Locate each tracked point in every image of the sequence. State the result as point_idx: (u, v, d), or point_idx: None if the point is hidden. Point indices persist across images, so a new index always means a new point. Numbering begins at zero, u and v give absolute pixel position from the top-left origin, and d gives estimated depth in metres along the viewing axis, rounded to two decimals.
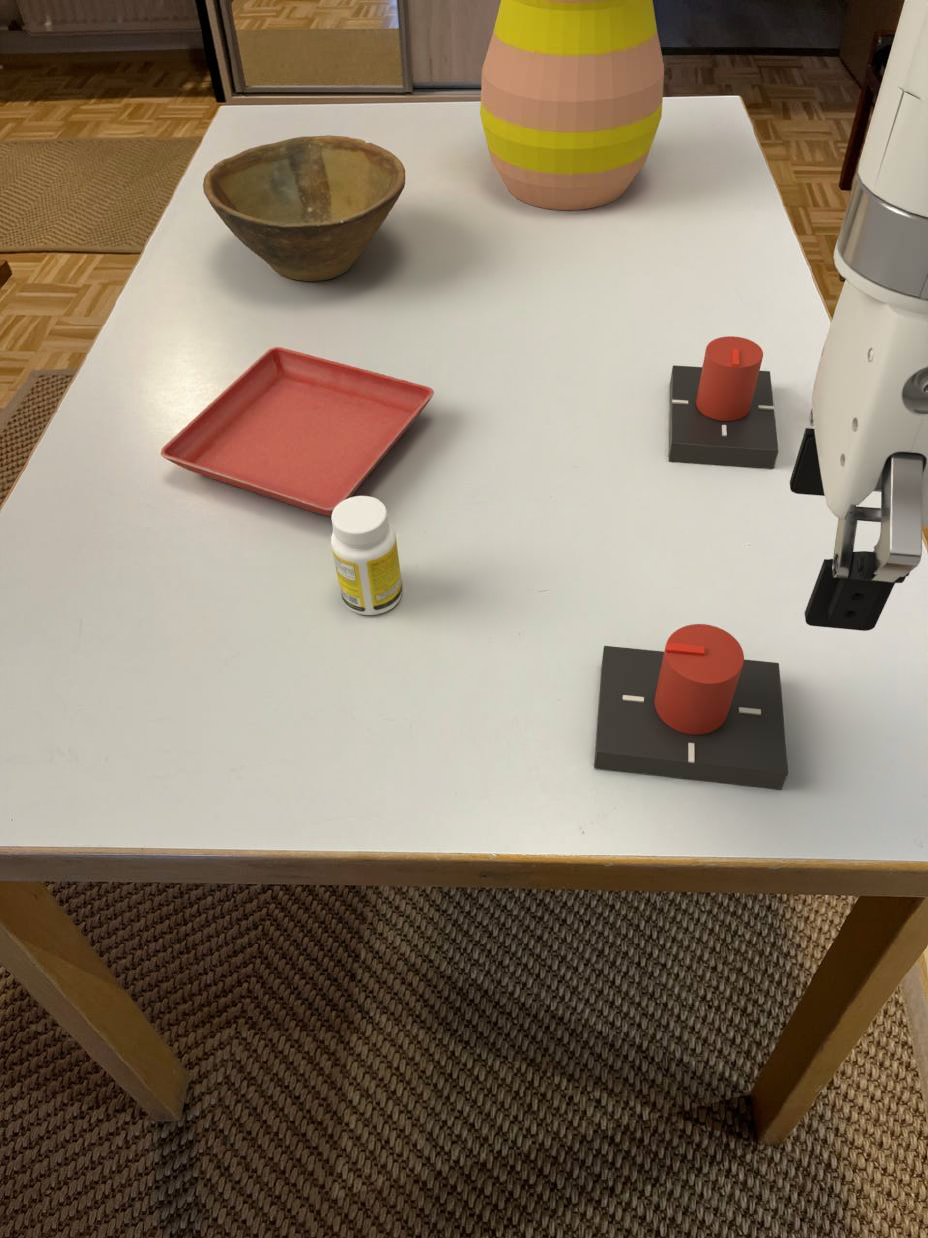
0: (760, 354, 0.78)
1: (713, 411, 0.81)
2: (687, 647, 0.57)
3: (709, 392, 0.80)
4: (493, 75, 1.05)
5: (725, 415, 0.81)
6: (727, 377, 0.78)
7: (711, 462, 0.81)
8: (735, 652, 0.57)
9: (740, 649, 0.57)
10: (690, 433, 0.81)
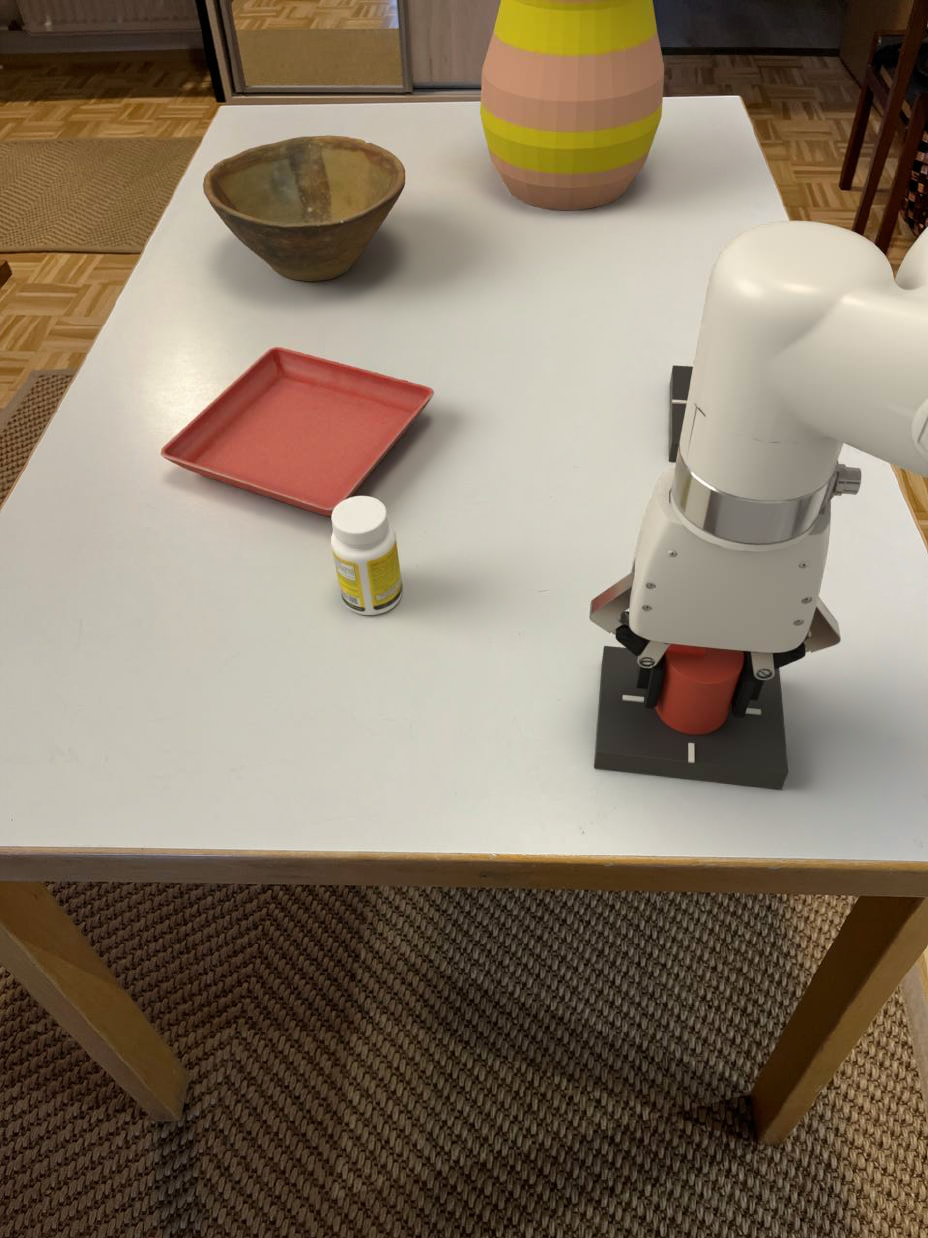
0: None
1: None
2: (687, 647, 0.57)
3: None
4: (493, 74, 1.05)
5: None
6: None
7: None
8: (735, 652, 0.57)
9: None
10: None
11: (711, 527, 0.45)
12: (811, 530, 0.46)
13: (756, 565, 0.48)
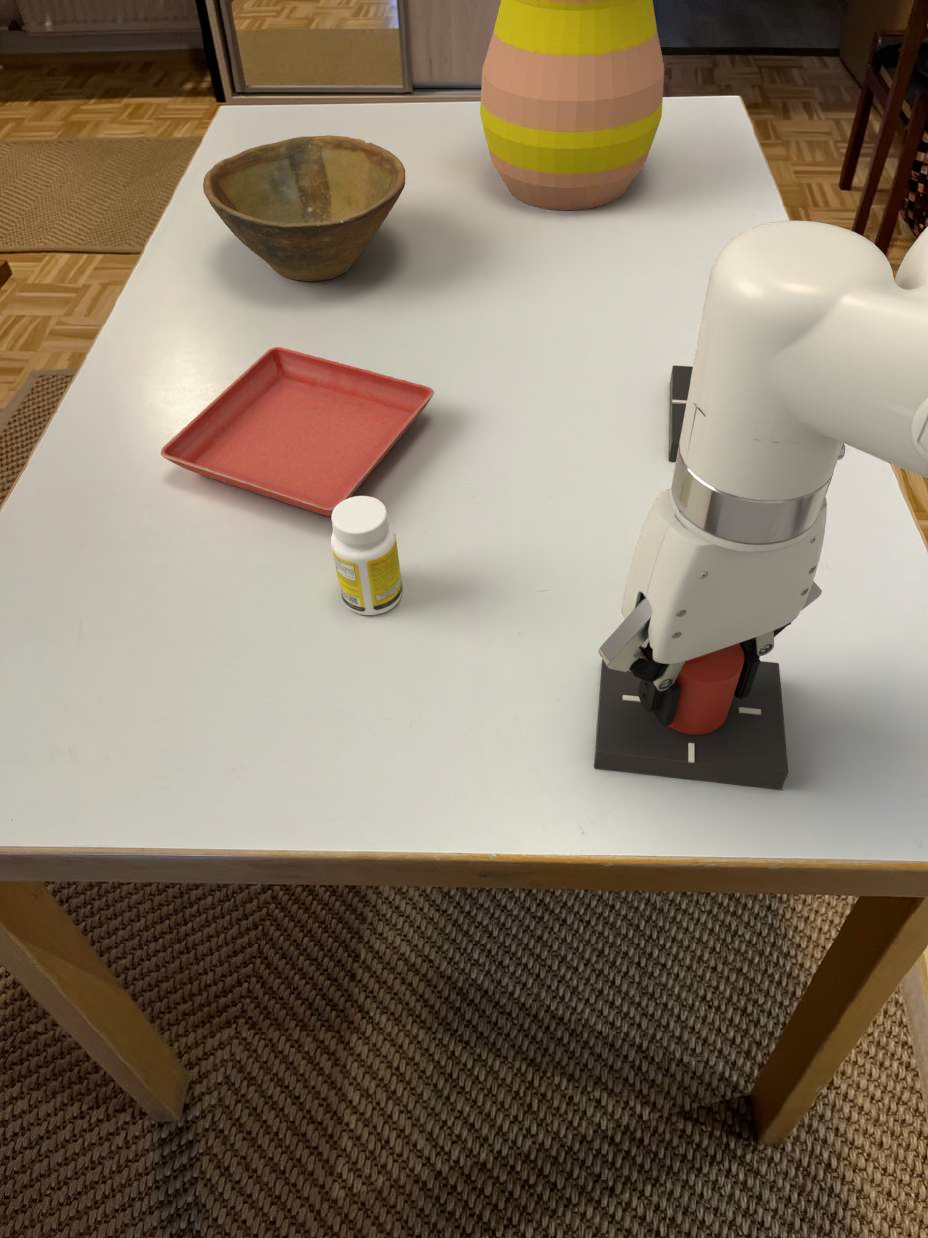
0: None
1: None
2: None
3: None
4: (493, 74, 1.05)
5: None
6: None
7: None
8: None
9: None
10: None
11: (751, 537, 0.45)
12: None
13: (777, 556, 0.48)
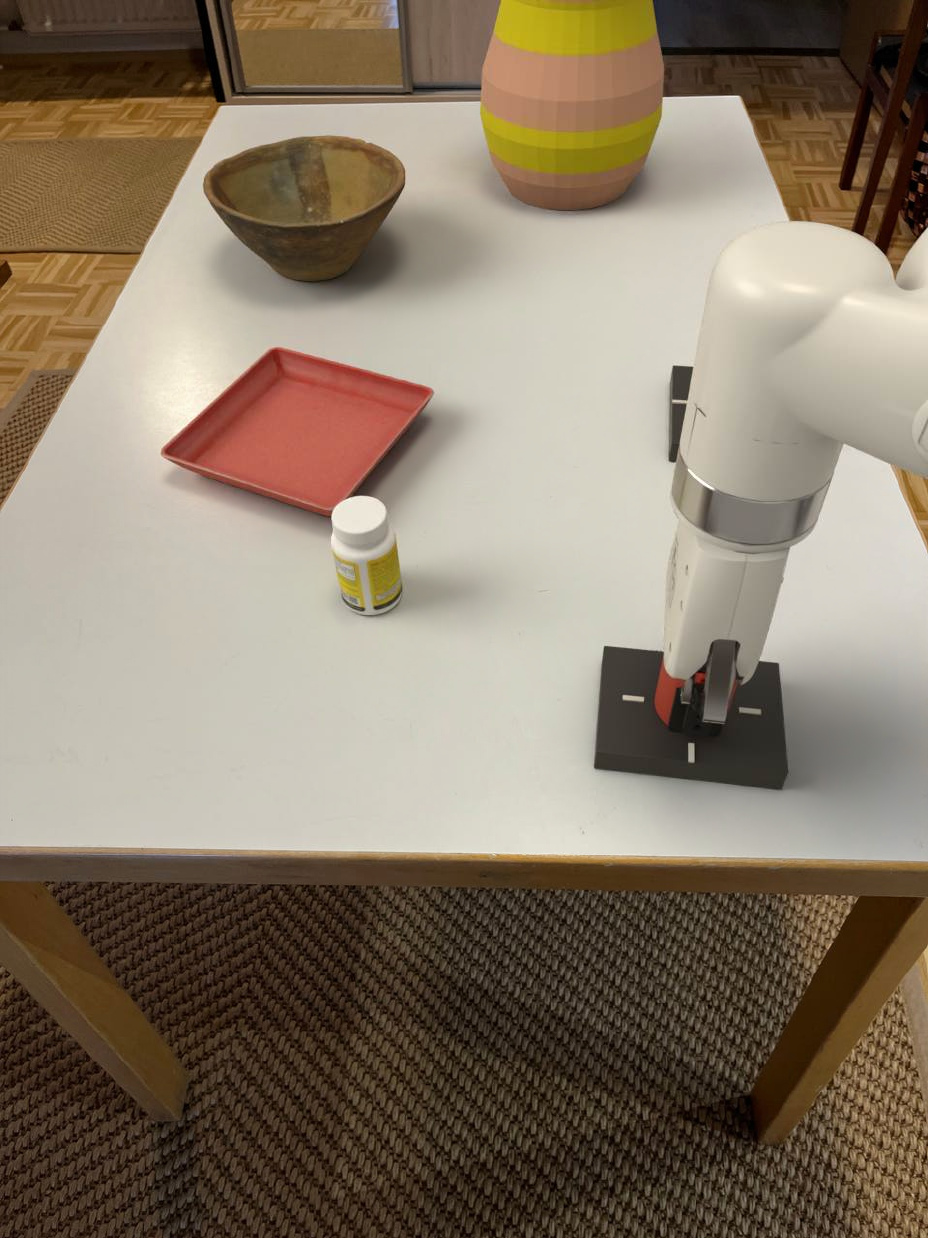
0: None
1: None
2: None
3: None
4: (493, 74, 1.05)
5: None
6: None
7: None
8: None
9: None
10: None
11: (815, 517, 0.46)
12: None
13: None
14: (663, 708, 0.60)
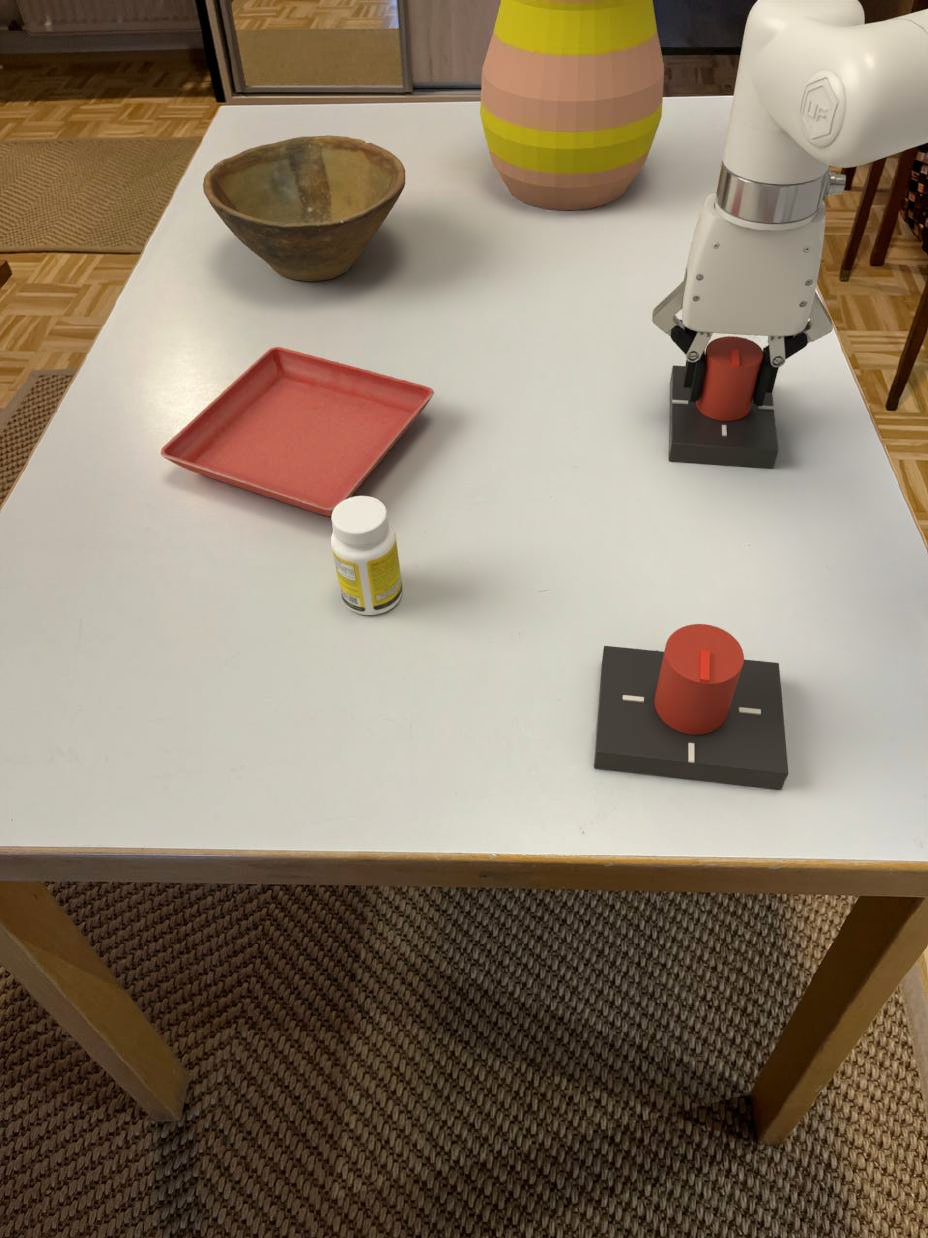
0: (760, 354, 0.78)
1: (713, 411, 0.81)
2: (704, 663, 0.56)
3: (709, 392, 0.80)
4: (493, 74, 1.05)
5: (725, 415, 0.81)
6: (727, 377, 0.78)
7: (711, 462, 0.81)
8: (700, 629, 0.58)
9: (696, 625, 0.59)
10: (690, 433, 0.81)
11: (744, 213, 0.67)
12: (812, 219, 0.68)
13: (774, 250, 0.69)
14: (663, 707, 0.60)
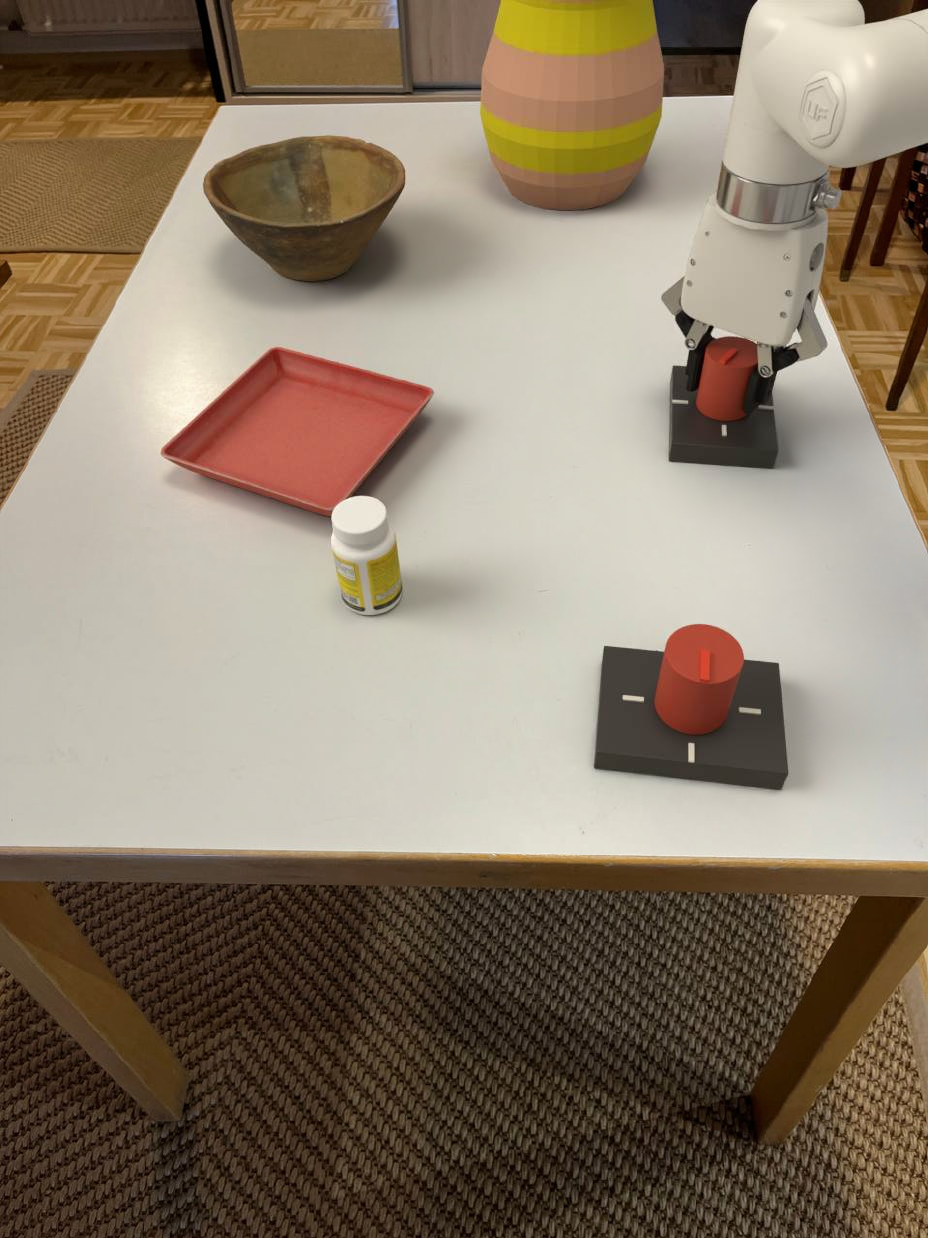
0: (756, 361, 0.78)
1: (702, 405, 0.82)
2: (704, 663, 0.56)
3: (701, 384, 0.81)
4: (493, 74, 1.05)
5: (711, 412, 0.81)
6: (714, 373, 0.79)
7: (711, 462, 0.81)
8: (700, 629, 0.58)
9: (696, 625, 0.59)
10: (690, 433, 0.81)
11: (724, 204, 0.68)
12: (794, 227, 0.67)
13: (755, 250, 0.70)
14: (663, 707, 0.60)
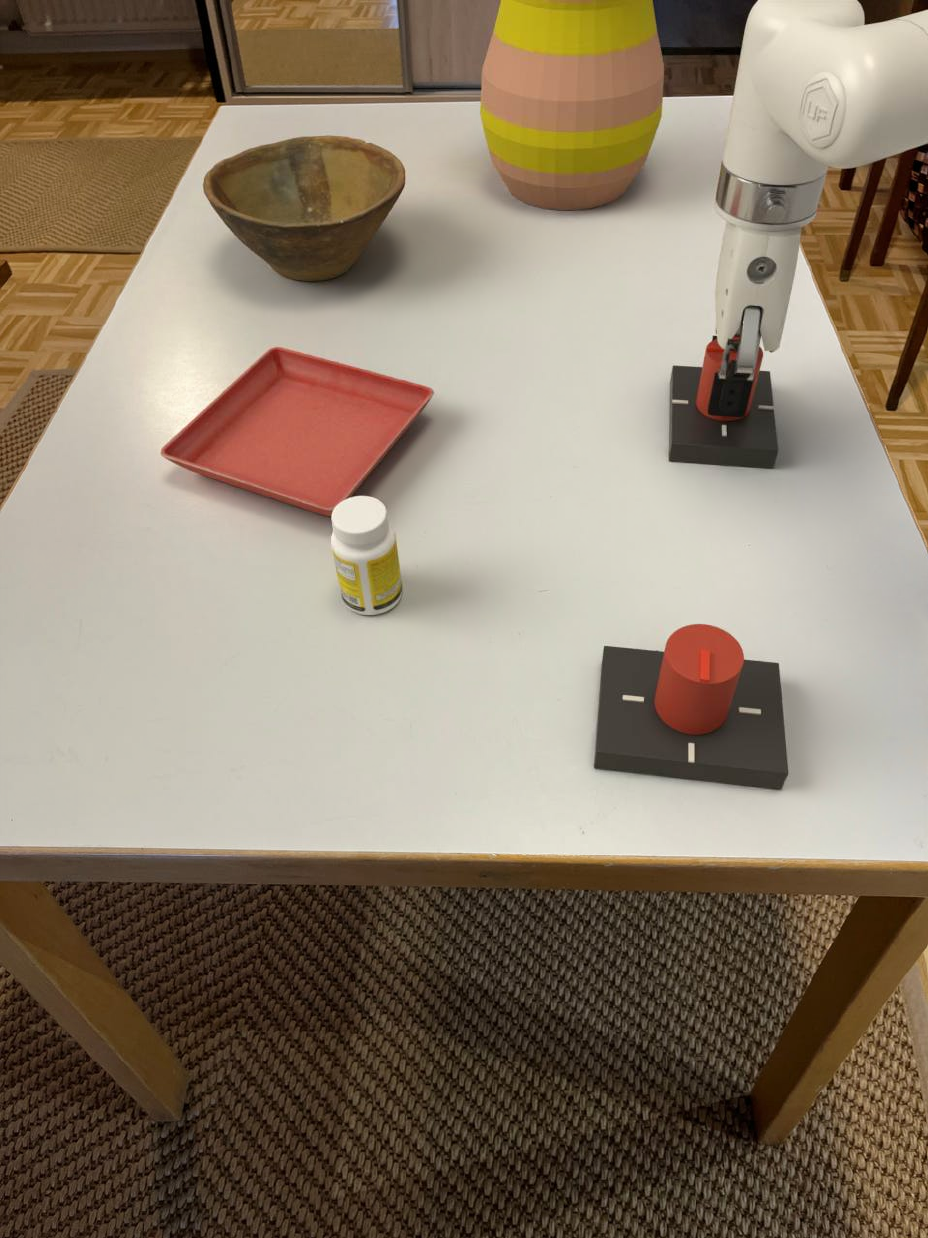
0: None
1: None
2: (704, 663, 0.56)
3: None
4: (493, 74, 1.05)
5: None
6: None
7: (711, 462, 0.81)
8: (700, 629, 0.58)
9: (696, 625, 0.59)
10: (690, 433, 0.81)
11: None
12: (741, 225, 0.68)
13: (726, 238, 0.71)
14: (663, 707, 0.60)
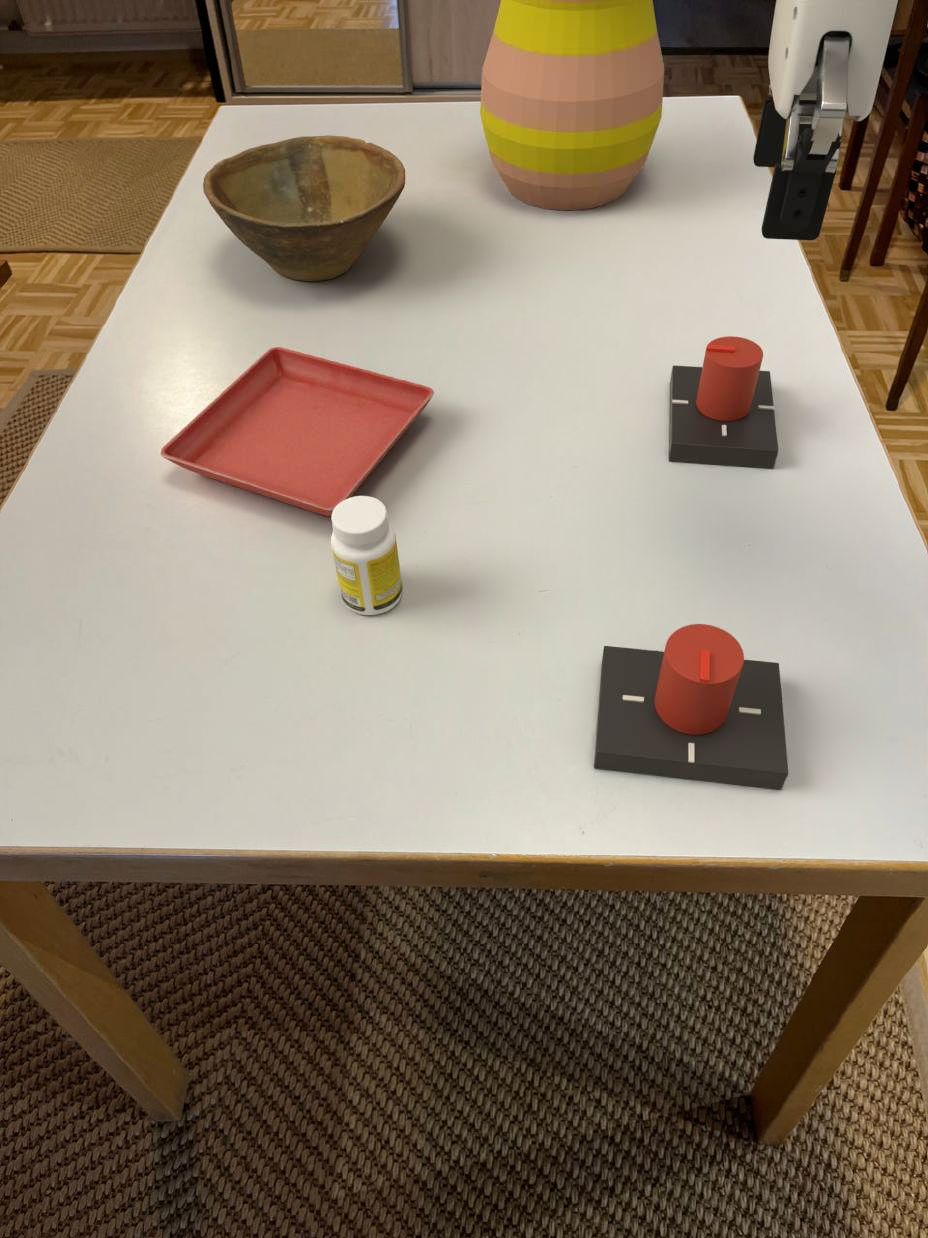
0: (730, 365, 0.78)
1: None
2: (704, 663, 0.56)
3: None
4: (493, 74, 1.05)
5: None
6: None
7: (711, 462, 0.81)
8: (700, 629, 0.58)
9: (696, 625, 0.59)
10: (690, 433, 0.81)
11: None
12: None
13: None
14: (663, 707, 0.60)
